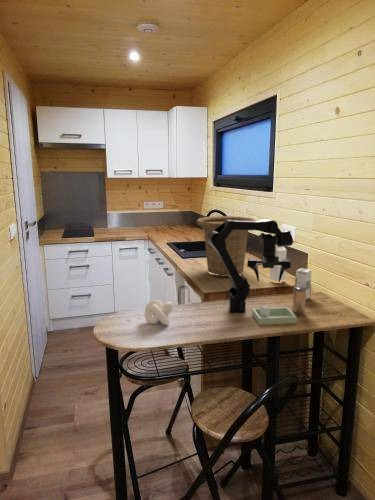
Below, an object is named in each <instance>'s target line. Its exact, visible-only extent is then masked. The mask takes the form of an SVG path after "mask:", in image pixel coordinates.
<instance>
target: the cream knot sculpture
mask: <svg viewBox="0 0 375 500" xmlns="http://www.w3.org/2000/svg"><path fill="white" fill-rule="evenodd" d="M173 307H174V305H173V302H171V301H166V302H162V301H160V300H159V299H151V301H148V303H147V304H146V306H145V309H144V319H145V322H147V323H148V324H150V325H156V324H157V323H159V322H160V323H161V324H162V325H164V326H167V325H169V324H170V317H169V315H170V314H171V312H172V310H173Z"/></svg>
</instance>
